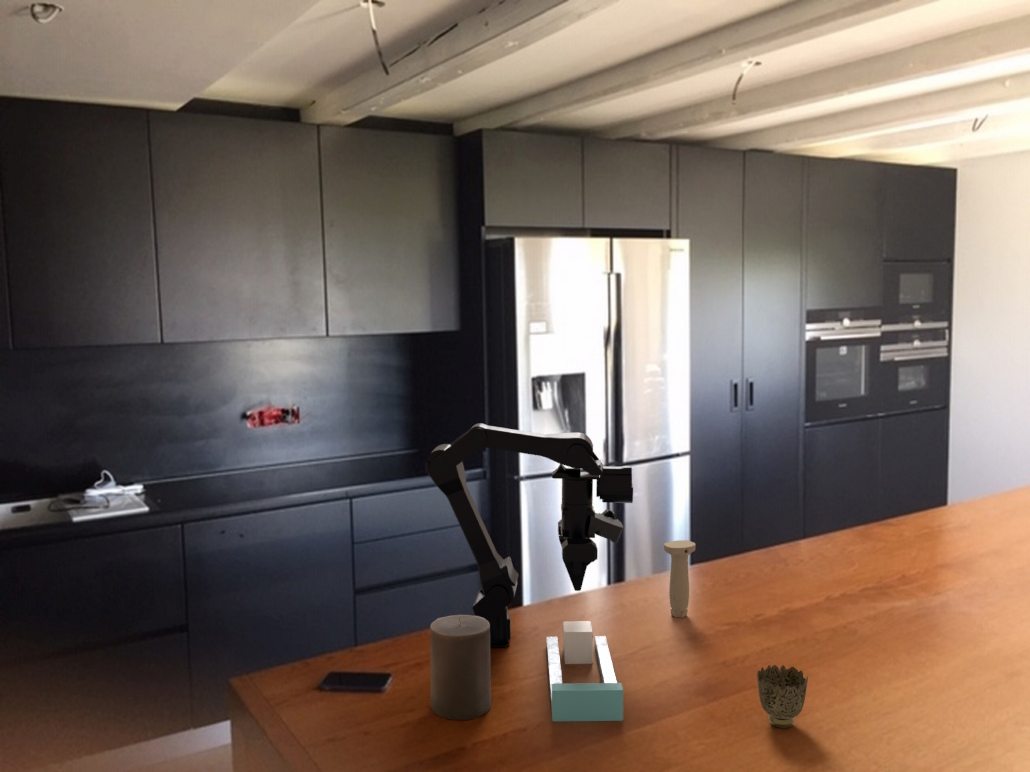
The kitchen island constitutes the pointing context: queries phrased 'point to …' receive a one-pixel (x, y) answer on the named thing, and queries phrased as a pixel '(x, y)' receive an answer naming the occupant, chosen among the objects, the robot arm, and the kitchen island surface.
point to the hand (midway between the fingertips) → (576, 582)
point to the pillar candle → (460, 667)
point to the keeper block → (577, 642)
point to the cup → (781, 694)
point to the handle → (679, 575)
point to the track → (585, 689)
